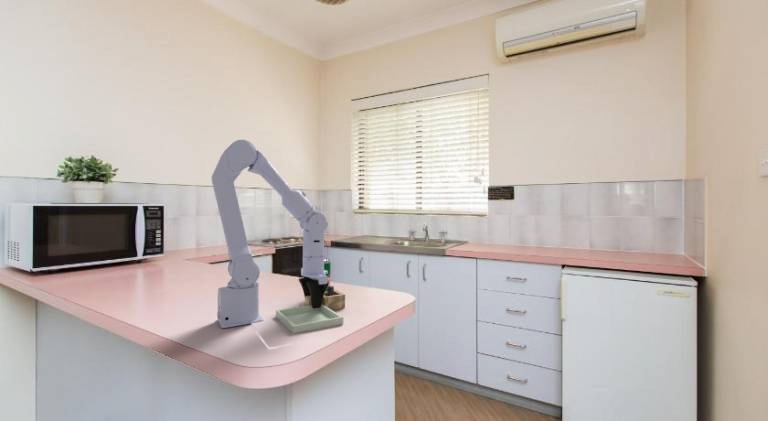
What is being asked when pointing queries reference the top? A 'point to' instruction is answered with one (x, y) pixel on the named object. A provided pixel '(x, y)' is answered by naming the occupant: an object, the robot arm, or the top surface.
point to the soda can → (328, 268)
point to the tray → (308, 318)
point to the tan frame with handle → (330, 300)
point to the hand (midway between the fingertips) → (313, 305)
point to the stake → (330, 291)
